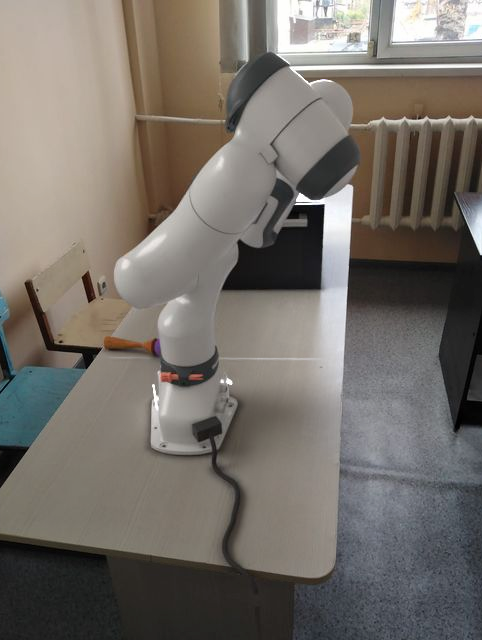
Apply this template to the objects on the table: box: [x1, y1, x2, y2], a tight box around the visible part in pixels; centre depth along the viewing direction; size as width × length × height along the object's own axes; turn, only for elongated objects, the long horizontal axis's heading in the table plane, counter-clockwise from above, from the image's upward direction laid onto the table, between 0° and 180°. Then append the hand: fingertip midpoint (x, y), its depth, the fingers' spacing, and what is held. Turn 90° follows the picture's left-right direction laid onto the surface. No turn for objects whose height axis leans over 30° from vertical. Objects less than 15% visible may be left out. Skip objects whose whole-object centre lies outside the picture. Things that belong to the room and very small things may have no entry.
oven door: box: [221, 201, 326, 291], centre depth 153 cm, size 7×40×26 cm, turn 85°
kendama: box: [103, 335, 161, 358], centre depth 135 cm, size 6×6×20 cm
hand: (246, 218), depth 140 cm, fingers closed
